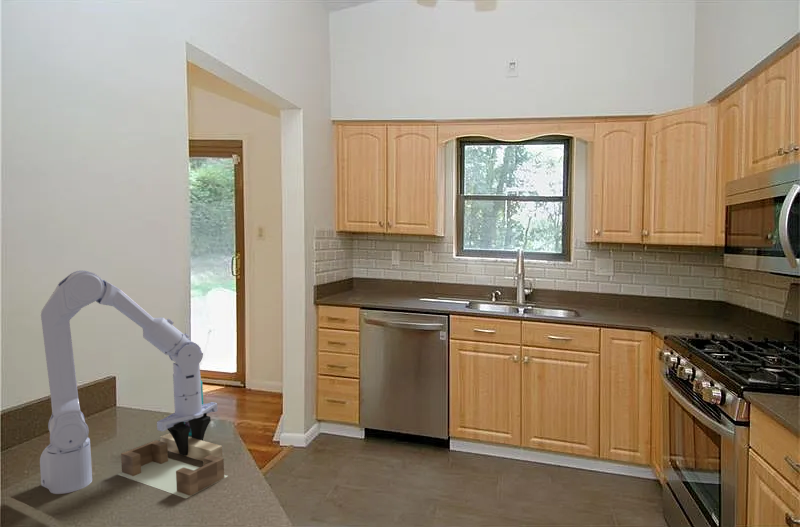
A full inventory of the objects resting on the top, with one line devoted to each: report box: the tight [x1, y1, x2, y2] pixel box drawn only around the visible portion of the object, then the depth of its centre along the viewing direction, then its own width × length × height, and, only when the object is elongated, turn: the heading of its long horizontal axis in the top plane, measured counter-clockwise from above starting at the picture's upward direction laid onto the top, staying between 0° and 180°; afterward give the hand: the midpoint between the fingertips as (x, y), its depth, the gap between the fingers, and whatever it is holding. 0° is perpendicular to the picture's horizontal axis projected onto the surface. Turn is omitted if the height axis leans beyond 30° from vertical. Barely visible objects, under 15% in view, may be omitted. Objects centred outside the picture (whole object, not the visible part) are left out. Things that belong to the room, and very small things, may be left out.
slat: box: [159, 432, 224, 462], centre depth 114 cm, size 18×3×4 cm, turn 60°
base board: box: [116, 457, 229, 499], centre depth 103 cm, size 22×10×1 cm, turn 60°
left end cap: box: [120, 439, 169, 476], centre depth 108 cm, size 4×8×4 cm, turn 150°
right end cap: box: [176, 455, 225, 497], centre depth 99 cm, size 4×8×4 cm, turn 150°
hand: (190, 451), depth 114 cm, fingers closed on slat, 3 cm apart
